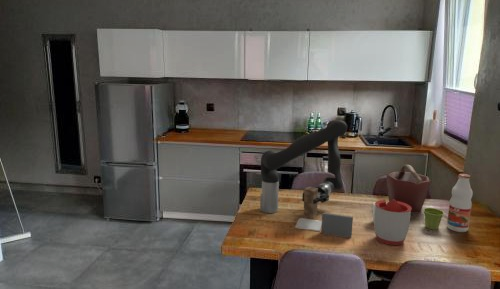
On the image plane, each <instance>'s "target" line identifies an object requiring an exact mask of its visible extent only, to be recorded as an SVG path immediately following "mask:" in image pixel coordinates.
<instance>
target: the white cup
mask: <svg viewBox="0 0 500 289" xmlns="http://www.w3.org/2000/svg"><path fill="white" fill-rule="evenodd" d="M376 202H377V201H374V202H372V203H373V205H372V222H373V224H374V218H375V207H376V205H375V203H376ZM387 203H388V202H386V204H387Z"/></svg>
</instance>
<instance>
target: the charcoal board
mask: <svg viewBox="0 0 500 289" xmlns="http://www.w3.org/2000/svg"><path fill="white" fill-rule="evenodd" d="M321 221H322V226H321V229H320V234H323V235H329V236H337V237H344V238H350V239H352V232H353V222H354V216H351V215H343V214H336V213H331V212H322V215H321Z"/></svg>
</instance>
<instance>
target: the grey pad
mask: <svg viewBox="0 0 500 289" xmlns="http://www.w3.org/2000/svg"><path fill="white" fill-rule="evenodd" d="M294 228H295V229H301V230H307V231H314V232H320V233H321V228H322V220H316V219H312V218H311V219H309V218H305V217H304V218H303V217H299V219H298V220H297V222H296V224H295V226H294Z"/></svg>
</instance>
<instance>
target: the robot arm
mask: <svg viewBox="0 0 500 289" xmlns="http://www.w3.org/2000/svg"><path fill="white" fill-rule="evenodd" d="M347 130H348V124H347V122H345V121H344V120H341V119H336V120H330V121H328V122H327V124H326V127H324V128H321V129H320V130H316V131H313V132H309V133H306V134H305V135H302V136H300V137H299V138H296V139H295V140H293V141H292V143H290V145H289V146H287V147H286V148H284V149H283V150H280V151H277V152H275V151H272V150H266V151H264V152H263V154H262V155H261V158H260V176H261V193H260V204H259V211H260V212H262V213H266V214H275V213H277V212H278V210H279V189H280V188H279V186H280V184H279V182H280V176H279V174H278V169H280V168H281V167H283V166H284V165H286V164H288V163H289V162H291V161H293V160H295V159H296V158H299V157H301V156H303V155H305V154H308V153H310V152H311V151H313V150H315V149H317V148H319V147H320V146H323V145H324V144H325V143H327V155H328V156H327V173H329V174H332V175H334V177H330V176H329V177H325V178H324V180H323V182H322V183H320V184H318V185H317V186H315V187H314V188H318V197H317V198H315V199H314V200H313V204H316V203H317V204H318V203H321V204H322V203H326V202H328V201H329V200H330V195H331V194H332V193H333V192H334V191H341V190H342V189H343V187H344V183H343V178H342V174H341V154H340V150H339V149H340V148H339V142H338V141H339V138H340V137H342V136H344V135H345V134H346V133H347V132H348V131H347ZM301 199H302V202H303V203H304V191H303V193H302V198H301Z"/></svg>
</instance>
